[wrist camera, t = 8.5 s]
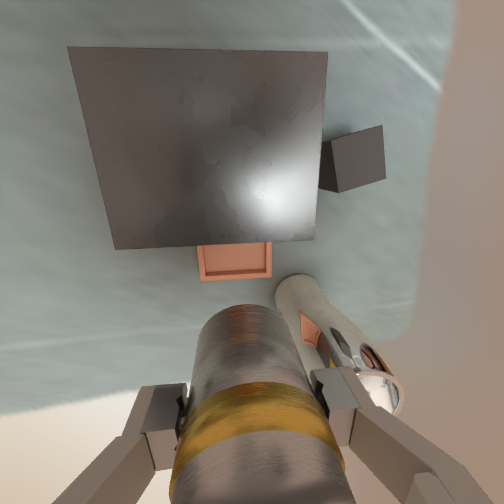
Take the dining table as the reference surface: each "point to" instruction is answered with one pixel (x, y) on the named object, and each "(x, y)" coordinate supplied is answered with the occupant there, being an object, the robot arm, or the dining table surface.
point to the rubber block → (352, 160)
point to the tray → (235, 261)
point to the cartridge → (254, 420)
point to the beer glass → (334, 340)
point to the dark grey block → (204, 142)
